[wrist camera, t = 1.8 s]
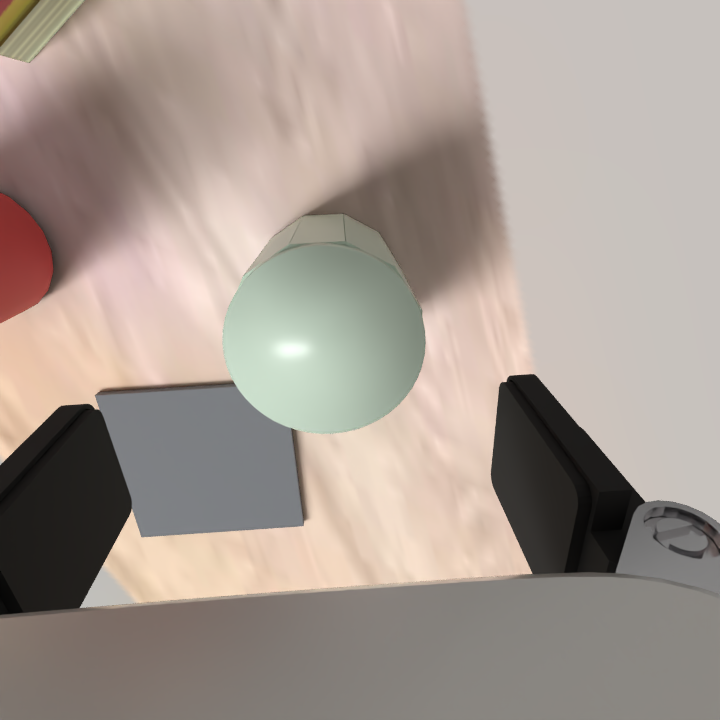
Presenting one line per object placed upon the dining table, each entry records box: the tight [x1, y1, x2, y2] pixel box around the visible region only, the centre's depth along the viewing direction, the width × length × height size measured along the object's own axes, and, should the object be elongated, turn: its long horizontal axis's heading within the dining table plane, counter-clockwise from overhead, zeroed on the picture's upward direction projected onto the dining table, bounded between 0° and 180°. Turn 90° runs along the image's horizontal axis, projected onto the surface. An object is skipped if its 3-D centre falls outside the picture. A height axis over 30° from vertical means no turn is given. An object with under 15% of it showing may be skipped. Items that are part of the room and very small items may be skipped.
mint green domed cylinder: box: [223, 214, 425, 434], centre depth 21 cm, size 8×8×8 cm
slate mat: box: [95, 384, 304, 537], centre depth 29 cm, size 11×11×1 cm
